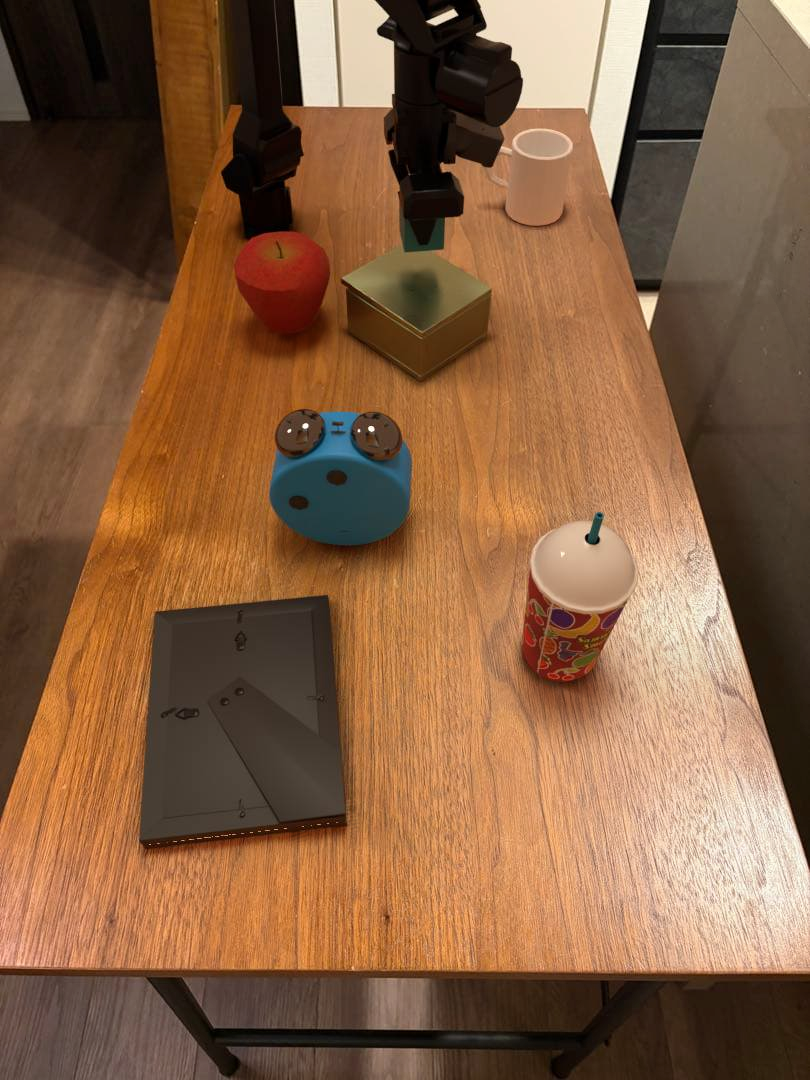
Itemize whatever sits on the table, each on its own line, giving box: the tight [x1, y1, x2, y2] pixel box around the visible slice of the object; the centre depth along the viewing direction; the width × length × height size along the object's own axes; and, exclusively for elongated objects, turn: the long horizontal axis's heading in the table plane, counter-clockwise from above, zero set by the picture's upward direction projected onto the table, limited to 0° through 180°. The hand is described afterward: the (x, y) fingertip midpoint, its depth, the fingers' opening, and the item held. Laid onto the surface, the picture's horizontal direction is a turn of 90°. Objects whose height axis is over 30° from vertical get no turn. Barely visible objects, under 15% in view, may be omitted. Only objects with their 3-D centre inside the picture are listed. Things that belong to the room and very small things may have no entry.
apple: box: [233, 231, 331, 336], centre depth 100 cm, size 11×11×12 cm
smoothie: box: [520, 511, 640, 683], centre depth 69 cm, size 8×8×20 cm
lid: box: [340, 243, 493, 338], centre depth 99 cm, size 13×12×1 cm
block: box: [398, 200, 446, 253], centre depth 96 cm, size 5×5×5 cm
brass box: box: [345, 287, 492, 382], centre depth 101 cm, size 13×12×6 cm
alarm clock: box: [268, 408, 413, 546], centre depth 80 cm, size 13×6×15 cm, turn 87°
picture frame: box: [138, 594, 348, 850], centre depth 71 cm, size 16×3×21 cm
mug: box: [483, 127, 574, 227], centre depth 117 cm, size 8×12×10 cm
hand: (420, 232), depth 97 cm, fingers closed on block, 4 cm apart
